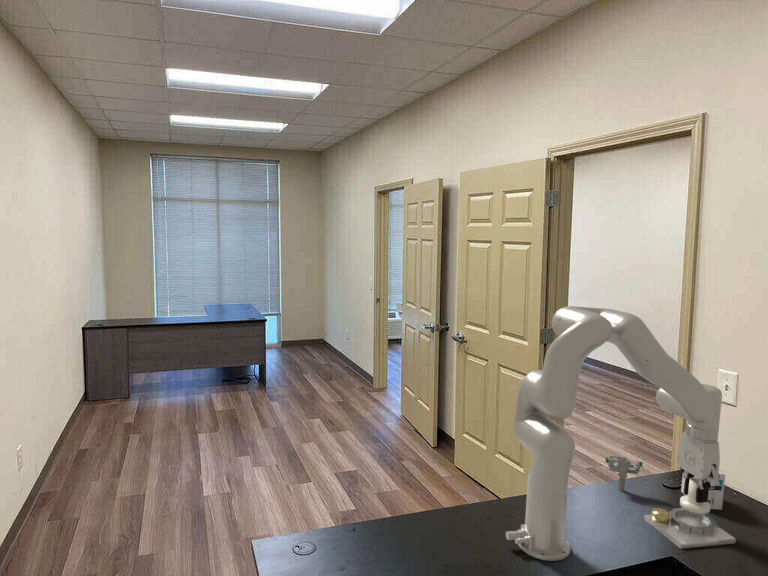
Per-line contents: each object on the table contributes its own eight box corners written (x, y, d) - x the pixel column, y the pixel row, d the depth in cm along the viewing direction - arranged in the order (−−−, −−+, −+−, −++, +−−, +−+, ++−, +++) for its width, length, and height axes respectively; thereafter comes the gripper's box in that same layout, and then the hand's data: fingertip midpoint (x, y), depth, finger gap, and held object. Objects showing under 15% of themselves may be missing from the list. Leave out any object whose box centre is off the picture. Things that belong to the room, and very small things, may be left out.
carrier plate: (680, 548, 138) (681, 536, 138) (643, 519, 152) (644, 508, 151) (735, 543, 141) (736, 531, 141) (694, 514, 155) (695, 503, 154)
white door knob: (692, 515, 144) (695, 487, 143) (673, 501, 151) (676, 475, 150) (716, 512, 145) (718, 485, 144) (696, 499, 152) (698, 473, 151)
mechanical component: (640, 494, 166) (643, 462, 164) (604, 490, 168) (606, 459, 166) (638, 490, 168) (640, 458, 167) (602, 486, 170) (605, 455, 169)
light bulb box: (722, 510, 158) (726, 474, 157) (699, 509, 158) (702, 473, 157) (701, 492, 169) (705, 458, 167) (679, 491, 169) (683, 457, 167)
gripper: (667, 421, 153) (661, 484, 155) (713, 445, 137) (706, 515, 139) (690, 420, 154) (685, 482, 156) (739, 443, 138) (732, 513, 140)
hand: (695, 497), depth 147 cm, fingers closed on white door knob, 3 cm apart
